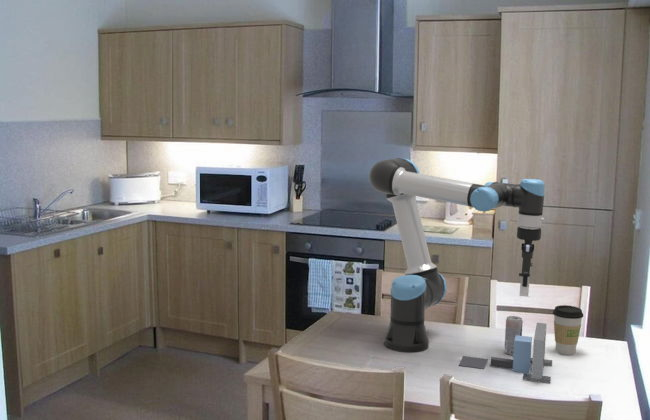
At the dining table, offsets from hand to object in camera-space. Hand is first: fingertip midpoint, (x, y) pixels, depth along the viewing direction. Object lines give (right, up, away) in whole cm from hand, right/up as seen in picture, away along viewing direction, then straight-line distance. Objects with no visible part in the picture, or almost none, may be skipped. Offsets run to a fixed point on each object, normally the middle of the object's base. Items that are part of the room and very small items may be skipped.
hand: (524, 290), depth 235 cm
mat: (-18, -23, -4) cm, 29 cm away
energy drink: (-2, -22, +6) cm, 23 cm away
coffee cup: (+16, -22, +7) cm, 28 cm away
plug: (-7, -24, -8) cm, 26 cm away
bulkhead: (+1, -24, -11) cm, 26 cm away
